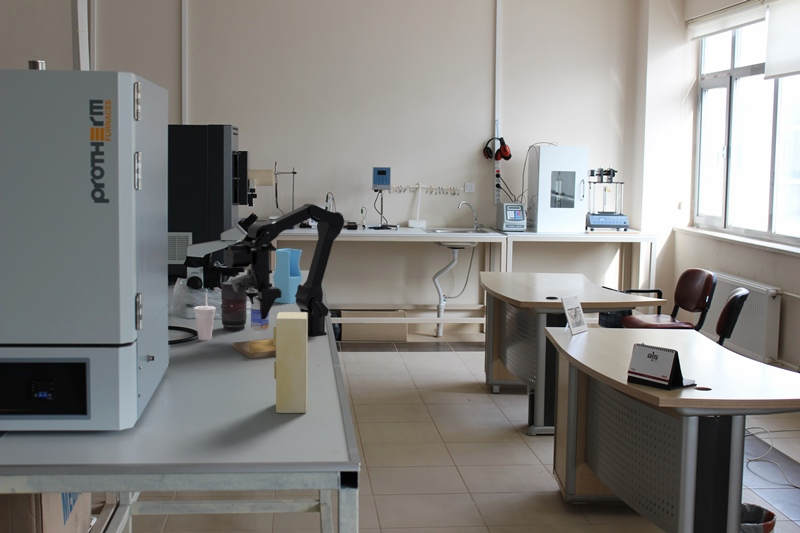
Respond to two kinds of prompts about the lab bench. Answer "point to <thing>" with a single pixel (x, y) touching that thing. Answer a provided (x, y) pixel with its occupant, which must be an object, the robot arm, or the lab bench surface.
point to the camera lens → (233, 308)
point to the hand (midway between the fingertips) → (259, 317)
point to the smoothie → (204, 320)
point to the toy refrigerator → (291, 361)
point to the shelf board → (256, 348)
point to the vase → (287, 274)
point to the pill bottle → (258, 317)
